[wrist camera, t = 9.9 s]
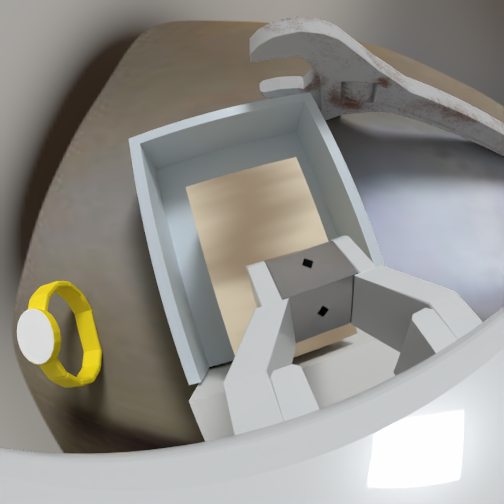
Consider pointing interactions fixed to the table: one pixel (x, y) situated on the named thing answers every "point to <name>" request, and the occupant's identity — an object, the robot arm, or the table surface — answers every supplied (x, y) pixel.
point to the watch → (59, 335)
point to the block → (255, 236)
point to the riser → (316, 372)
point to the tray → (219, 164)
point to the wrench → (362, 81)
